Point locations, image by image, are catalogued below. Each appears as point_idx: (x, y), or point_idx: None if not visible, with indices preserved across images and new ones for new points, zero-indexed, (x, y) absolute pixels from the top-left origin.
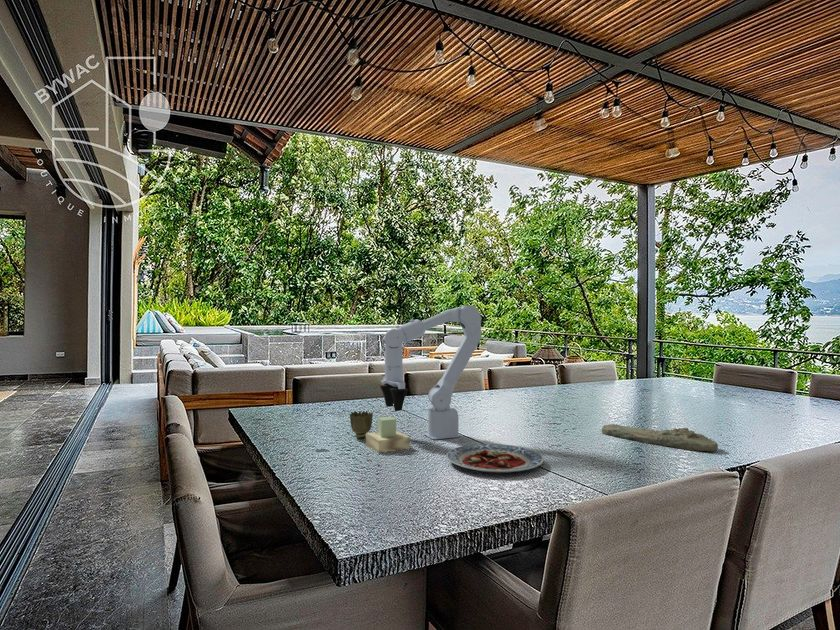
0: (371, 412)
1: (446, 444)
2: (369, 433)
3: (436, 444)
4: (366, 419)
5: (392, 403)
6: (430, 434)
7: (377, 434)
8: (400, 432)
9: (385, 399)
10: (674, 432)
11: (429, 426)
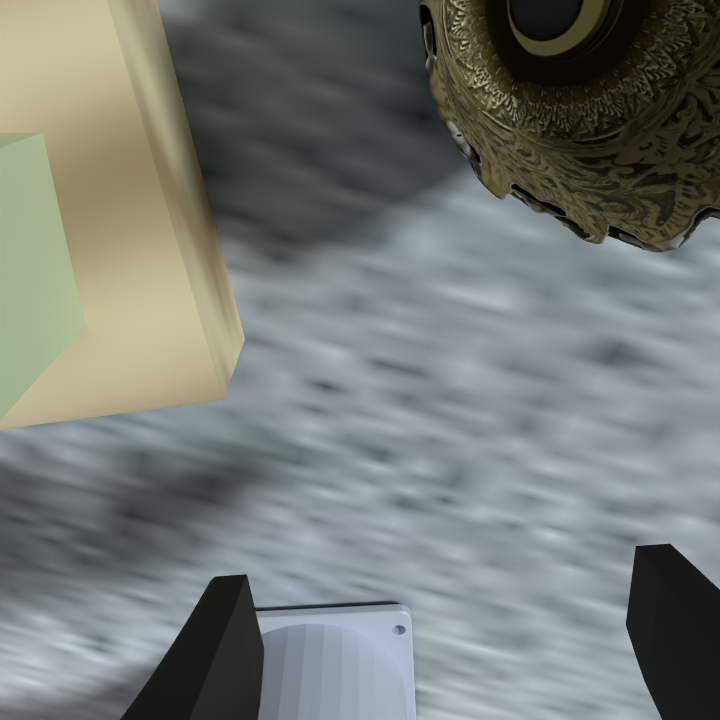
0: (684, 238)
1: (61, 645)
2: (85, 16)
3: (71, 593)
4: (427, 56)
5: (647, 666)
6: (286, 637)
7: (11, 123)
8: (89, 416)
9: (714, 642)
10: None
11: (296, 694)
